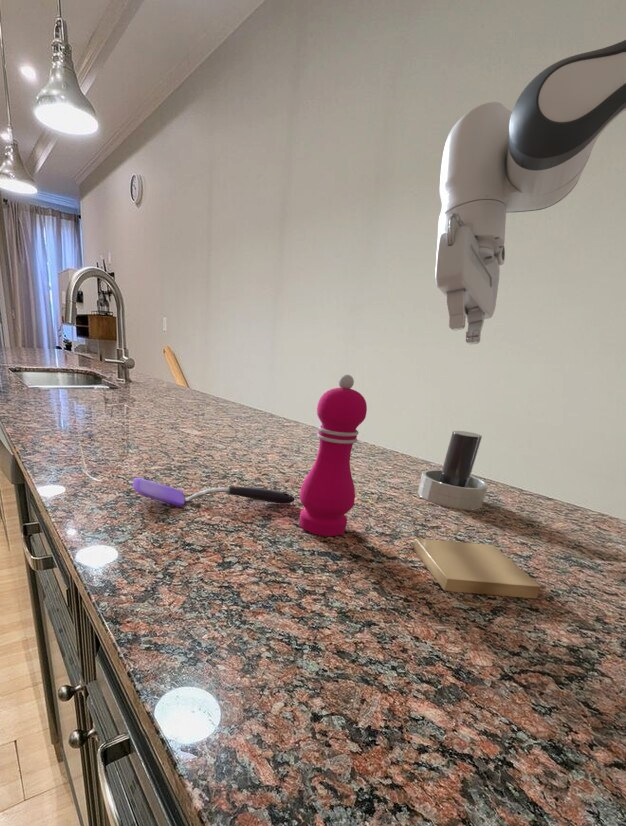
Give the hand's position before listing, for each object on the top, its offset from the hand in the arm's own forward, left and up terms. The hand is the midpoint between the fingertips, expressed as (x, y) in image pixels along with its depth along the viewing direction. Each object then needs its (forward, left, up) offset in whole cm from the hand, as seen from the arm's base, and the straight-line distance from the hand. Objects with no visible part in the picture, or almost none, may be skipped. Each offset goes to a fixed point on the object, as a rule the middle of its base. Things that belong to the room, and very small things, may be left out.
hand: (465, 336), depth 66 cm
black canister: (-4, 0, -25) cm, 26 cm away
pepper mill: (+20, +16, -26) cm, 37 cm away
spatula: (+35, +10, -26) cm, 45 cm away
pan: (-4, 0, -26) cm, 26 cm away
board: (+4, +26, -26) cm, 37 cm away
